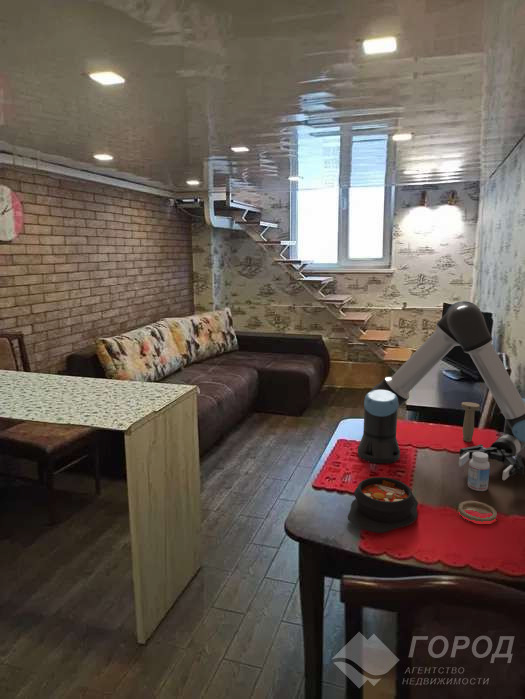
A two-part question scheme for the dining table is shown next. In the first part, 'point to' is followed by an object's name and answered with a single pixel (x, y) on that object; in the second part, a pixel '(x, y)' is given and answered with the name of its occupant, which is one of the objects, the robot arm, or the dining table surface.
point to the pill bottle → (478, 471)
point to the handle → (469, 420)
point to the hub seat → (479, 508)
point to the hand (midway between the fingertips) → (481, 469)
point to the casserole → (382, 505)
